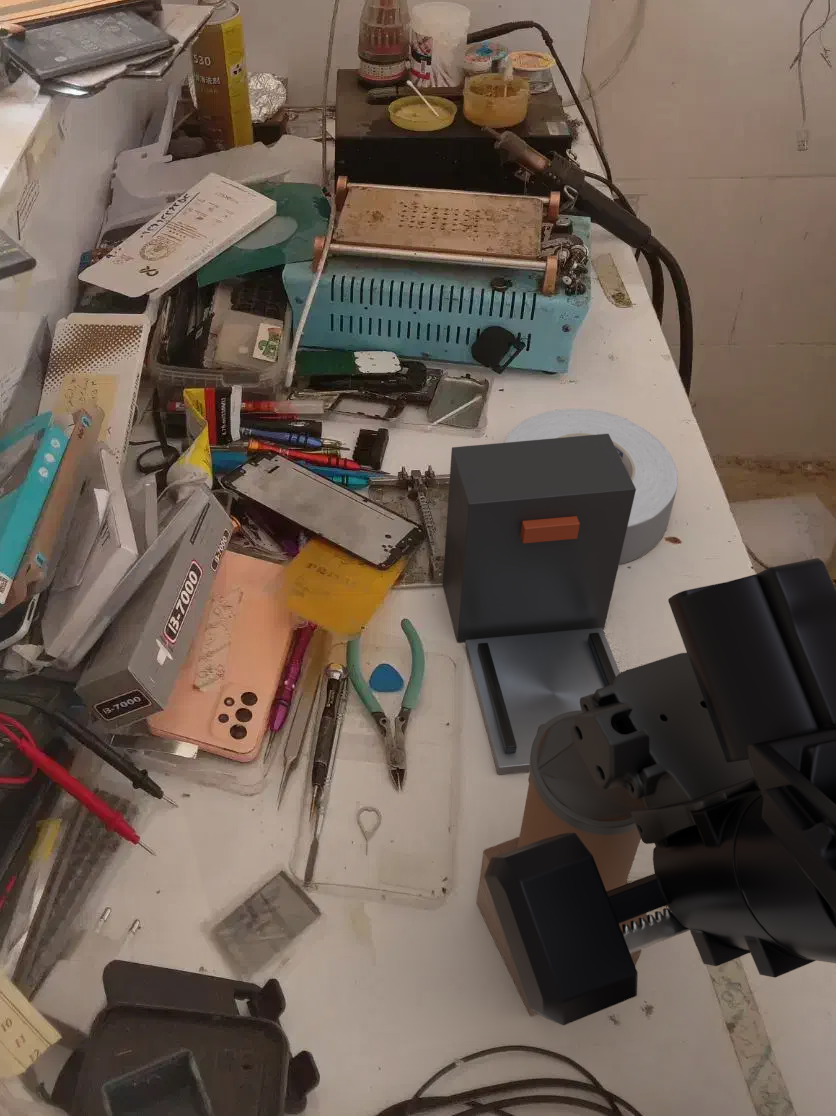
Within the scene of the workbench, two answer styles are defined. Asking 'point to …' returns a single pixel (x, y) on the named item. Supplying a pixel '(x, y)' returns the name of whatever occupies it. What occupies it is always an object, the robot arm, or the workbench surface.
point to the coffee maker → (534, 535)
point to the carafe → (578, 803)
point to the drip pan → (534, 685)
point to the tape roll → (639, 457)
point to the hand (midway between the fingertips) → (623, 867)
